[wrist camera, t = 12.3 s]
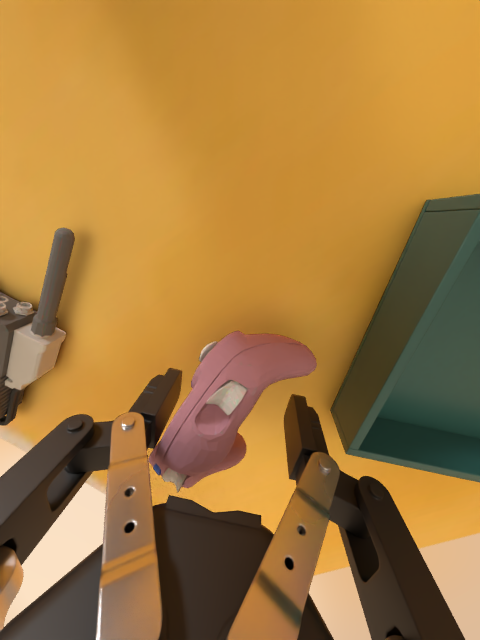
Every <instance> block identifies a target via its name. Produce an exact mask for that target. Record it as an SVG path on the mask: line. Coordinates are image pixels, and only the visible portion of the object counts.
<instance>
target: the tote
mask: <svg viewBox="0 0 480 640" xmlns="http://www.w3.org/2000/svg"><path fill="white" fill-rule="evenodd" d="M330 411H331V413H332V416H333V419H334V422H335V424H336V427H337V430H338V433H339V436H340V439H341V442H342V444H343V447H344V450H345V453H346V454H348V455H353V456H358V457H362V458H367V459H372V460H377V461H381V462H386V463H391V464H395V465H400V466H405V467H410V468H414V469H419V470H424V471H429V472H433V473H438V474H443V475H447V476H452V477H457V478H462V479H466V480H471V481H476V482H480V194H474V195H466V196H458V197H450V198H442V199H434V200H427V201H426V203H425V205H424V207H423V209H422V211H421V214H420V216H419V218H418V220H417V222H416V224H415V227H414V229H413V231H412V233H411V235H410V238H409V240H408V242H407V244H406V246H405V248H404V251H403V253H402V255H401V257H400V259H399V262H398V264H397V266H396V268H395V270H394V272H393V275H392V277H391V279H390V281H389V283H388V286H387V288H386V290H385V292H384V294H383V296H382V299H381V301H380V303H379V305H378V307H377V310H376V312H375V314H374V316H373V318H372V320H371V323H370V325H369V327H368V329H367V331H366V334H365V336H364V338H363V340H362V342H361V344H360V347H359V349H358V351H357V353H356V355H355V358H354V360H353V362H352V364H351V366H350V368H349V371H348V373H347V375H346V377H345V379H344V382H343V384H342V386H341V388H340V390H339V392H338V395H337V397H336V399H335V401H334V403H333V406H332V408H331V410H330Z"/></svg>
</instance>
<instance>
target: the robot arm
mask: <svg viewBox="0 0 480 640" xmlns="http://www.w3.org/2000/svg"><path fill="white" fill-rule="evenodd" d="M181 381H182V370H177V369H172V368H169V369H168V371H167V373H166V374H165V376H163V375H157V376H156V377H154V378H153V379H151V381H150V382H149V384H148V385H147V387H146V388H145V389H144V391H143V392H142V393H141V395H140V396H139V398H138V399H137V400H136V402H135V403H134V405H133V406H132V407H131V409H130V410H129V412H127V413H124V414H122V415H120V416H118V417H117V418H116V419H115V420H114V421H109V422H95V423H94V422H93V419H92V417H90V416H89V415H85V414H79V415H74V416H71V417H69V418H67V419H65V420H64V421H63V422H61V423H60V424H59V425H58V426H57V427H56V428H55V429H54V430H52V431H51V432H50V433H49V434H48V435H47V436H46V437H45V438H44V439H42V440H41V441H40V442H39V443H38V444H37V445H36V446H35V447H33V448H32V449H31V450H30V451H29V452H28V453H27V454H26V455H25V456H23V457H22V458H21V459H20V460H19V461H18V462H17V463H16V464H15V465H14V466H12V467H11V468H10V469H9V470H8V471H7V472H6V473H5V474H3V475H2V476H1V477H0V640H334V639H333V637H332V635H331V633H330V632H329V630H328V628H327V626H326V624H325V622H324V621H323V619H322V617H321V615H320V613H319V611H318V610H317V608H316V606H315V604H314V602H313V600H312V598H311V596H310V595H309V593H308V592H309V589H310V585H311V582H312V578H313V575H314V571H315V568H316V564H317V561H318V557H319V554H320V550H321V547H322V543H323V540H324V536H325V533H326V529H327V526H328V522H329V520H331V521H332V522H334V523H336V524H337V525H338V527H339V530H340V533H341V537H342V540H343V544H344V547H345V550H346V554H347V557H348V561H349V564H350V567H351V571H352V574H353V577H354V581H355V584H356V587H357V591H358V594H359V598H360V601H361V605H362V608H363V611H364V615H365V618H366V621H367V625H368V628H369V631H370V635H371V638H372V640H465V638H464V636H463V634H462V632H461V631H460V629H459V627H458V625H457V623H456V621H455V619H454V617H453V616H452V613H451V611H450V609H449V607H448V605H447V603H446V601H445V600H444V598H443V596H442V594H441V592H440V590H439V588H438V586H437V584H436V582H435V580H434V579H433V576H432V574H431V572H430V571H429V569H428V567H427V565H426V563H425V561H424V559H423V557H422V555H421V553H420V551H419V549H418V547H417V545H416V543H415V542H414V540H413V538H412V536H411V534H410V532H409V530H408V528H407V526H406V524H405V522H404V520H403V518H402V516H401V514H400V512H399V511H398V509H397V507H396V505H395V503H394V501H393V499H392V497H391V495H390V493H389V492H388V490H387V489H386V488H385V487H384V486H383V485H382V484H381V483H380V482H379V481H378V480H376V479H374V478H372V477H369V476H363V477H361V478H360V479H359V480H357V479H355V478H353V477H351V476H349V475H347V474H345V473H344V472H342V471H341V470H339V467H338V465H337V463H336V462H335V461H334V460H333V459H332V458H331V457H330V456H329V453H328V450H327V446H326V442H325V439H324V435H323V431H322V428H321V424H320V421H319V417H318V414H317V413H316V412H315V410H314V409H313V407H308V406H307V403H306V398H305V397H304V396H299V395H294V394H292V395H291V397H290V400H289V403H288V406H287V409H286V412H285V415H284V430H285V441H286V451H287V462H288V472H289V479H293V480H296V485H297V487H296V489H295V491H294V493H293V495H292V497H291V500H290V502H289V504H288V506H287V508H286V510H285V512H284V515H283V517H282V519H281V521H280V523H279V525H278V528H277V530H276V532H275V534H273V533H272V532H271V531H270V530H269V529H267V528H266V527H265V526H263V525H261V515H256V514H252V513H247V512H243V511H228V512H217V513H214V512H211V511H210V510H208V509H206V508H204V507H203V506H201V505H199V504H197V503H196V502H194V501H192V500H188V499H184V498H179V497H175V496H170V495H169V497H168V500H167V503H163V504H158V505H155V506H152V496H151V485H150V473H149V462H148V455H147V449H148V448H153V449H154V448H155V446H156V444H157V442H158V440H159V438H160V436H161V434H162V432H163V430H164V428H165V426H166V424H167V422H168V420H169V417H170V415H171V413H172V411H173V409H174V407H175V405H176V403H177V401H178V398H179V395H180V391H181ZM106 469H108V474H107V490H106V506H105V522H104V537H103V544H102V545H101V546H99V547H98V548H97V549H96V550H95V551H94V552H92V553H91V554H90V555H89V556H87V557H86V558H85V559H84V560H83V561H81V562H80V563H79V564H78V565H77V566H76V567H74V568H73V569H72V570H71V571H70V572H68V573H67V574H66V575H65V576H64V577H62V578H61V579H60V580H59V581H58V582H57V583H55V584H54V585H53V586H52V587H50V588H49V589H48V590H47V591H46V592H44V593H43V594H42V595H41V596H40V597H39V598H37V599H36V600H35V601H34V602H33V603H31V604H30V605H29V606H28V607H27V608H25V609H24V610H23V611H22V612H21V613H19V615H17V616H16V617H15V618H14V619H12V620H11V621H10V622H9V623H8V624H7V625H6V626H5V627H4V621H5V617H6V614H7V611H8V609H9V607H10V605H11V603H12V602H13V600H14V598H15V597H16V595H17V593H18V591H19V589H20V587H21V584H22V581H23V569H22V567H21V565H22V564H23V563H24V561H25V560H26V559H27V557H28V556H29V555H30V553H31V552H32V551H33V549H34V548H35V547H36V545H37V544H38V543H39V542H40V540H41V539H42V538H43V536H44V535H45V534H46V532H47V531H48V530H49V528H50V527H51V526H52V525H53V523H54V522H55V521H56V519H57V518H58V517H59V515H60V514H61V513H62V512H63V510H64V509H65V508H66V506H67V505H68V504H69V502H70V501H71V500H72V498H73V497H74V496H75V494H76V493H77V492H78V491H79V489H80V488H81V487H82V485H83V484H84V483H85V481H86V480H87V479H88V478H89V476H90V475H91V474H92V472H93V471H98V470H106Z"/></svg>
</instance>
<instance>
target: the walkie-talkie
mask: <svg viewBox="0 0 480 640" xmlns="http://www.w3.org/2000/svg"><path fill="white" fill-rule="evenodd" d="M74 241H75V238H74V233H73V232H72V231H71V230H70V229H67V228H60V229H57V231H56V232H55V235H54V240H53V244H52V249H51V253H50V258H49V262H48V267H47V271H46V275H45V280H44V284H43V289H42V293H41V298H40V302H39V307H38V311H35V310H34V309H32V304H30V303H28V302H19V301H17V300H15V299H13V298H11V297H9V296H7V295H5V294H3V293H2V292H0V425H7V424H9V423H10V422H11V421H13V419H14V418H15V416H16V412H17V408H18V405H19V404H21V403H22V399H23V398H22V397H23V393H24V389H25V387H26V386H28V385H29V384H30V383H32V382H33V381H35V380H37V379H38V378H40V377H41V376H43V375H44V374H45V373H47V372H48V371H50V370H51V369H53V368H54V366H55V363H56V360H57V356H58V353H59V349H60V346H61V343H62V342H63V341H64V340H65V337H66V332H64V331H62V330H61V329H59V328H57V327H56V325H57V321H58V319H57V317H56V315H57V311H58V307H59V304H60V300H61V296H62V293H63V289H64V285H65V282H66V278H67V273H66V272H67V268H68V264H69V260H70V256H71V252H72V249H73V245H74ZM6 414H7V415H6ZM5 415H6V416H5Z"/></svg>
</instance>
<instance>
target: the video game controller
mask: <svg viewBox="0 0 480 640" xmlns="http://www.w3.org/2000/svg"><path fill="white" fill-rule="evenodd" d="M199 360H200V362H201V363H200V365H199V366H198V368H197V369H196V371H195V373H194V376H193V378H192V381H191V387H192V388H193V389H192V391H191V392H190V394H189V395H188V396H187V398H186V399H185V401H184V402H183V404H182V405H181V407H180V408H179V410H178V411H177V413H176V414H175V416H174V418H173V419H172V421H171V423H170V425H169V426H168V428H167V430H166V431H165V433H164V435H163V437H162V439H161V441H160V442H159V443H158V444H157V446H156V447H155V448H154V450H153V451H152V453H151V454H150V456H149V462H150V463H151V465H152V466H153V469H154V470H155V472H156V473H157V474H158V475H161V476H162V478H163V480H164V481H166V482H169V481H170V482H172V483H174V484H175V485H176V488H177V492H179V490H180V488H181V487H185V488H189V487H192V486H193V485H194V484H196V483H197V482H198V481H200V480H201V479H202V478H204V477H206V476H208V475H211V474H213V473H216V472H219V471H222V470H226V469H228V468H231V467H233V466H235V465H236V464H238V463H239V462H240V461H241V460H242V459H243V458H244V456H245V454H246V443H245V441H244V439H243V437H242V436H241V435H240V434H239V433H237V431H238V428H239V427H240V425H241V424H242V422H243V421H244V420H245V418H246V417H247V416H248V414H249V413H250V411H251V410H252V408H253V407H254V405H255V403H256V402H257V400H258V398H259V397H260V395H261V393H262V392H263V390H264V389H265V388H266V387H268V386H269V385H270V384H272V383H275V382H277V381H280V380H284V379H288V378H295V377H301V376H306V375H308V374H310V373H311V372H312V371H314V370H315V368H316V366H317V363H316V358H315V357H314V355H313V353H312V352H311V351H310V350H309V349H308V348H307V346H305V345H303V344H302V343H300V342H298V341H296V340H293V339H291V338H288V337H285V336H281V335H275V334H249V335H245V334H243V333H242V332H240V331H235V332H232V333H230V334H228V335H227V336H226V337H224V338H223V339H222V340H221V341H219V342H217V341H215V342H212V343H210V344H208V345H206V346H205V347H204V348H203V350H202V352H201V354H200V357H199Z"/></svg>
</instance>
